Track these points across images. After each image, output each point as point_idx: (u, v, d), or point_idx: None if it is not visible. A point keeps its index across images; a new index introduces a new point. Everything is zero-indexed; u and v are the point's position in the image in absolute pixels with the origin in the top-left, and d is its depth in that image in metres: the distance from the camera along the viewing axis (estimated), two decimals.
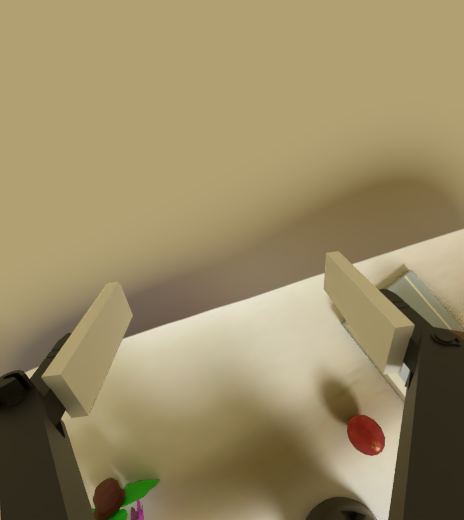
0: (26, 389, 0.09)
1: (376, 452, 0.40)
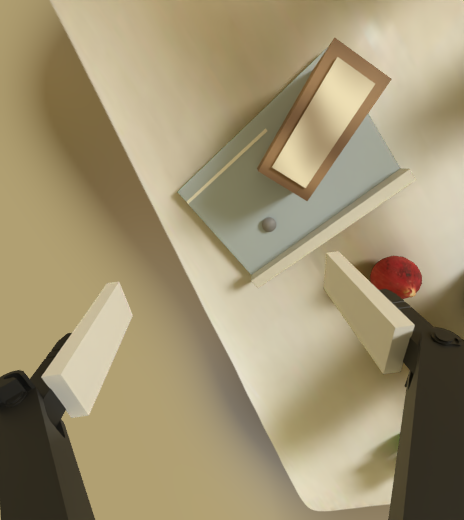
0: (26, 389, 0.09)
1: (417, 286, 0.31)
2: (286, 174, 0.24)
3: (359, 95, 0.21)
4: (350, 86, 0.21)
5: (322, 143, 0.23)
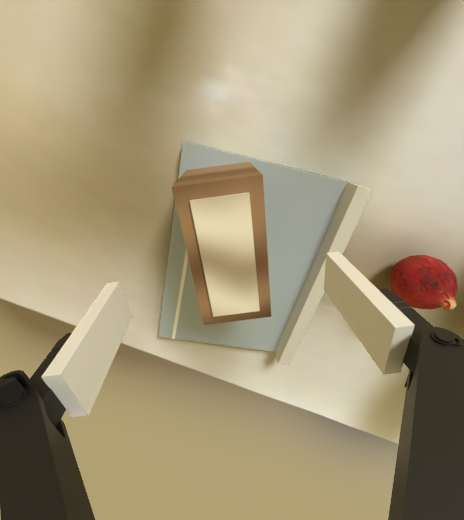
0: (26, 389, 0.09)
1: (454, 290, 0.24)
2: (231, 313, 0.21)
3: (242, 213, 0.17)
4: (226, 213, 0.17)
5: (242, 271, 0.19)
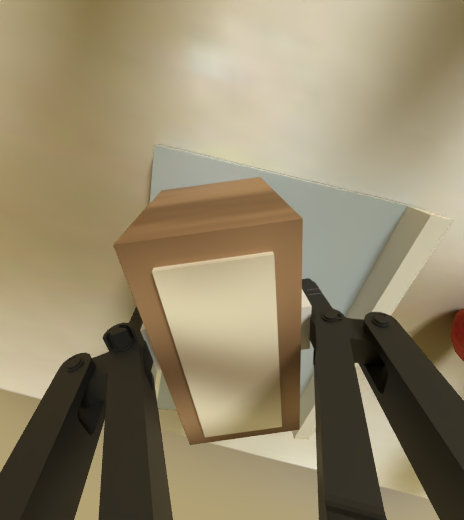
0: (132, 340, 0.11)
1: None
2: (234, 431, 0.13)
3: (258, 290, 0.09)
4: (226, 290, 0.08)
5: (255, 377, 0.11)
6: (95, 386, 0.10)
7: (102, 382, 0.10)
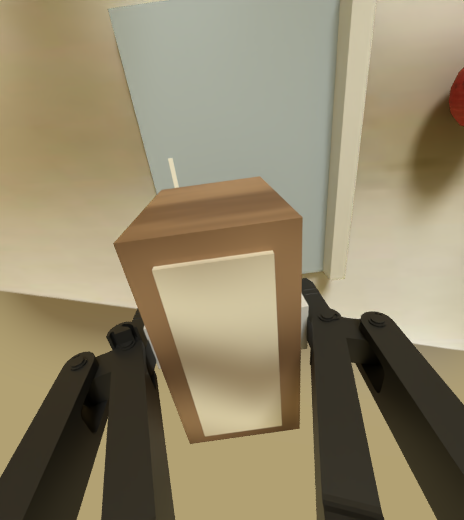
0: (135, 339, 0.11)
1: None
2: (234, 430, 0.13)
3: (258, 288, 0.09)
4: (226, 289, 0.08)
5: (255, 376, 0.11)
6: (98, 384, 0.10)
7: (105, 381, 0.10)
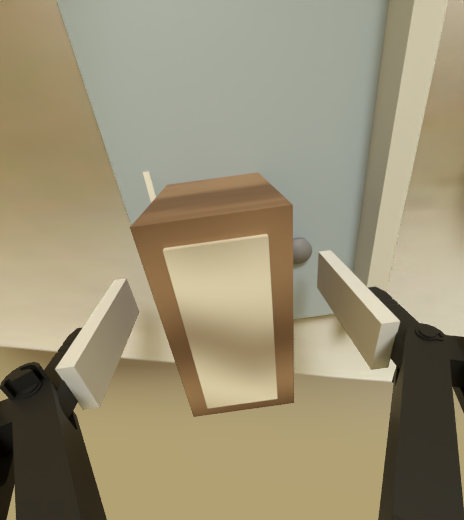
0: (41, 381, 0.09)
1: None
2: (234, 403, 0.14)
3: (255, 268, 0.10)
4: (227, 268, 0.10)
5: (253, 350, 0.12)
6: None
7: (2, 434, 0.09)
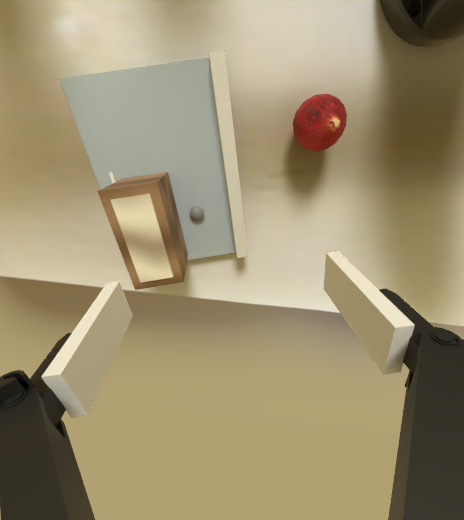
0: (26, 389, 0.09)
1: (336, 110, 0.26)
2: (153, 279, 0.29)
3: (147, 207, 0.26)
4: (136, 207, 0.25)
5: (155, 248, 0.28)
6: None
7: None
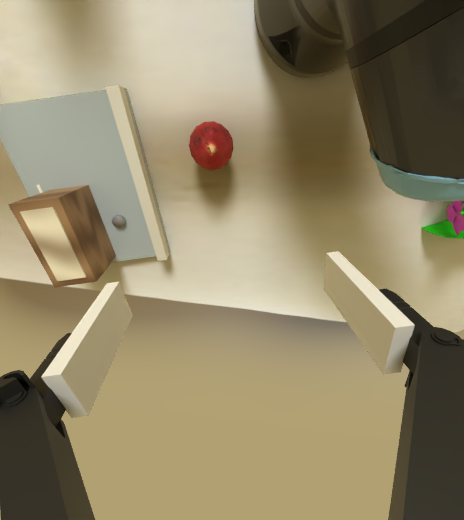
0: (26, 389, 0.09)
1: (214, 137, 0.30)
2: (68, 278, 0.34)
3: (52, 218, 0.30)
4: (43, 218, 0.30)
5: (65, 252, 0.32)
6: None
7: None
